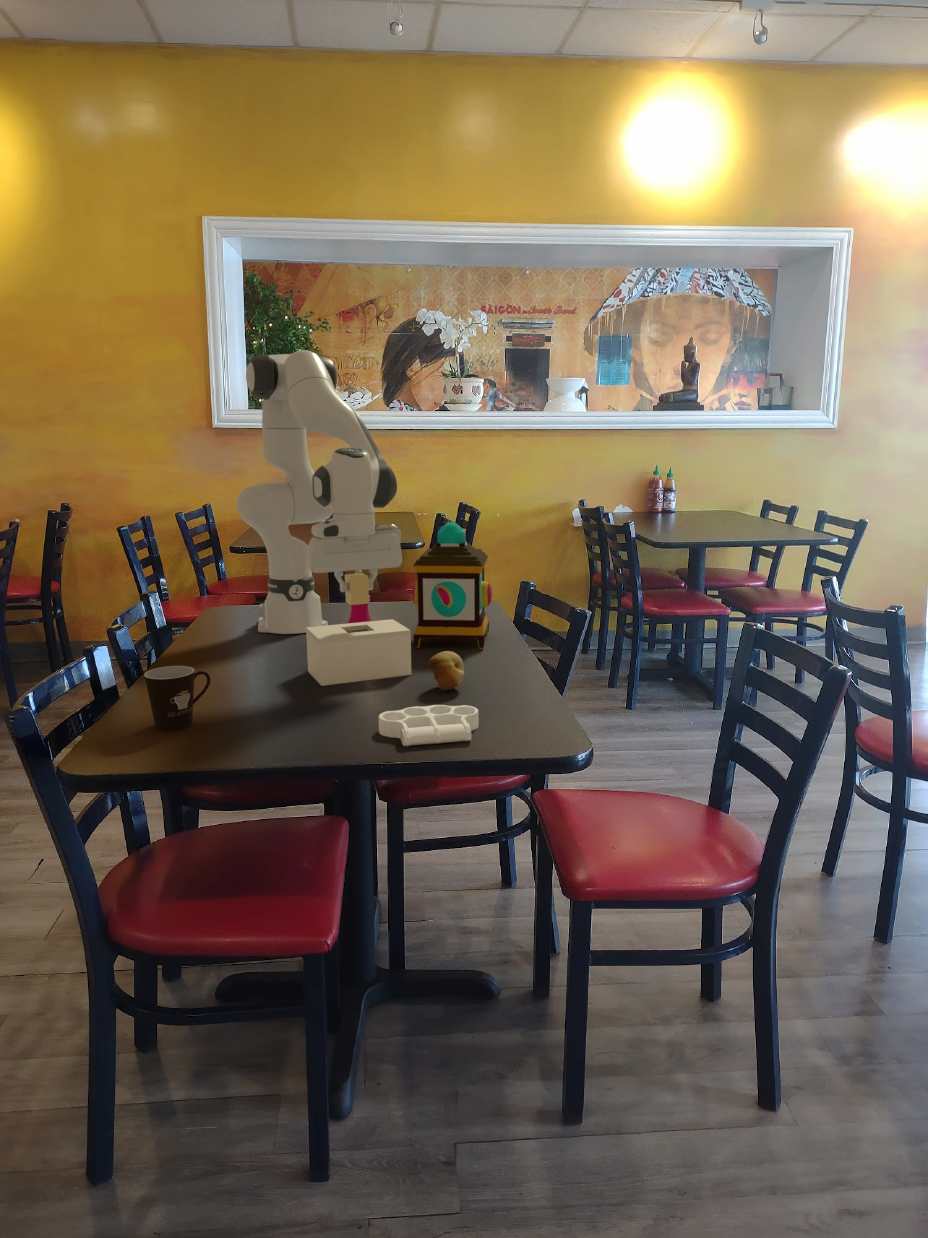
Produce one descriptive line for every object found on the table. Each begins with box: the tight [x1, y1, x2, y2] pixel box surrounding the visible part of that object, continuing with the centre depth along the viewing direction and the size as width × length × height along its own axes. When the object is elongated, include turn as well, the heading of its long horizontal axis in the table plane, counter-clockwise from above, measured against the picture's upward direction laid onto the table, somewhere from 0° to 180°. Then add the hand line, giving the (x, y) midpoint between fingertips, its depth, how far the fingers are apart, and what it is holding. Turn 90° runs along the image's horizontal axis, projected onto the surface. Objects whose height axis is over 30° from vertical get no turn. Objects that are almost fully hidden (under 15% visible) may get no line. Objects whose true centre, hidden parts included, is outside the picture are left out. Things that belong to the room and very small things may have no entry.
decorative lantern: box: [411, 521, 493, 650], centre depth 214 cm, size 20×20×30 cm
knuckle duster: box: [378, 704, 480, 747], centre depth 152 cm, size 3×18×15 cm
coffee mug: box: [143, 665, 211, 732], centre depth 156 cm, size 12×9×10 cm
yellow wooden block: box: [344, 572, 370, 606], centre depth 184 cm, size 4×4×6 cm
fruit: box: [427, 650, 465, 691], centre depth 176 cm, size 8×8×8 cm
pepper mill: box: [347, 570, 373, 624], centre depth 206 cm, size 7×7×20 cm
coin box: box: [305, 618, 412, 687], centre depth 188 cm, size 12×20×10 cm, turn 113°
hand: (356, 590), depth 185 cm, fingers closed on yellow wooden block, 4 cm apart
